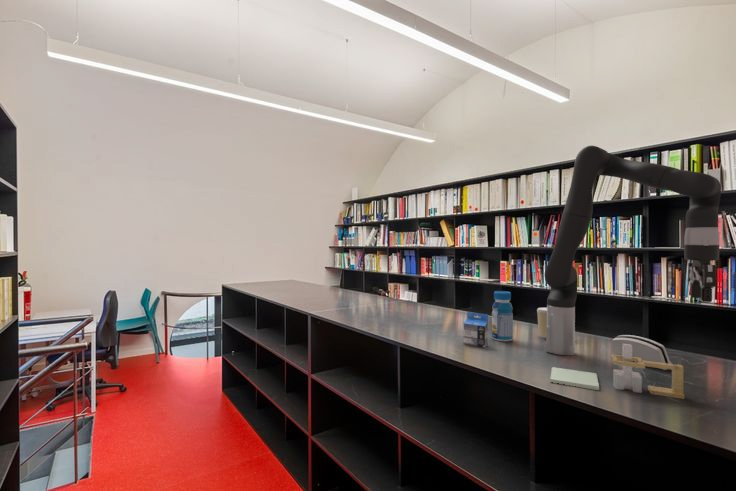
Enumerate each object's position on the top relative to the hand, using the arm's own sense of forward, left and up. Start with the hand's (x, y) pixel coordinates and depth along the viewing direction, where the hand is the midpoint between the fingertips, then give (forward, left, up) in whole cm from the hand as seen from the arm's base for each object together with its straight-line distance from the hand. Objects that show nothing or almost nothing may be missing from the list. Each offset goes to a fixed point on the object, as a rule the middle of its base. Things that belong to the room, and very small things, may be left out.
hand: (700, 299), depth 107 cm
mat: (-32, -15, -24) cm, 43 cm away
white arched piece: (-12, +15, -25) cm, 31 cm away
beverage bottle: (-58, +24, -24) cm, 68 cm away
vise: (-19, -12, -24) cm, 33 cm away
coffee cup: (-41, +39, -24) cm, 62 cm away
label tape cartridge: (-66, +10, -24) cm, 71 cm away
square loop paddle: (-15, -15, -24) cm, 32 cm away
